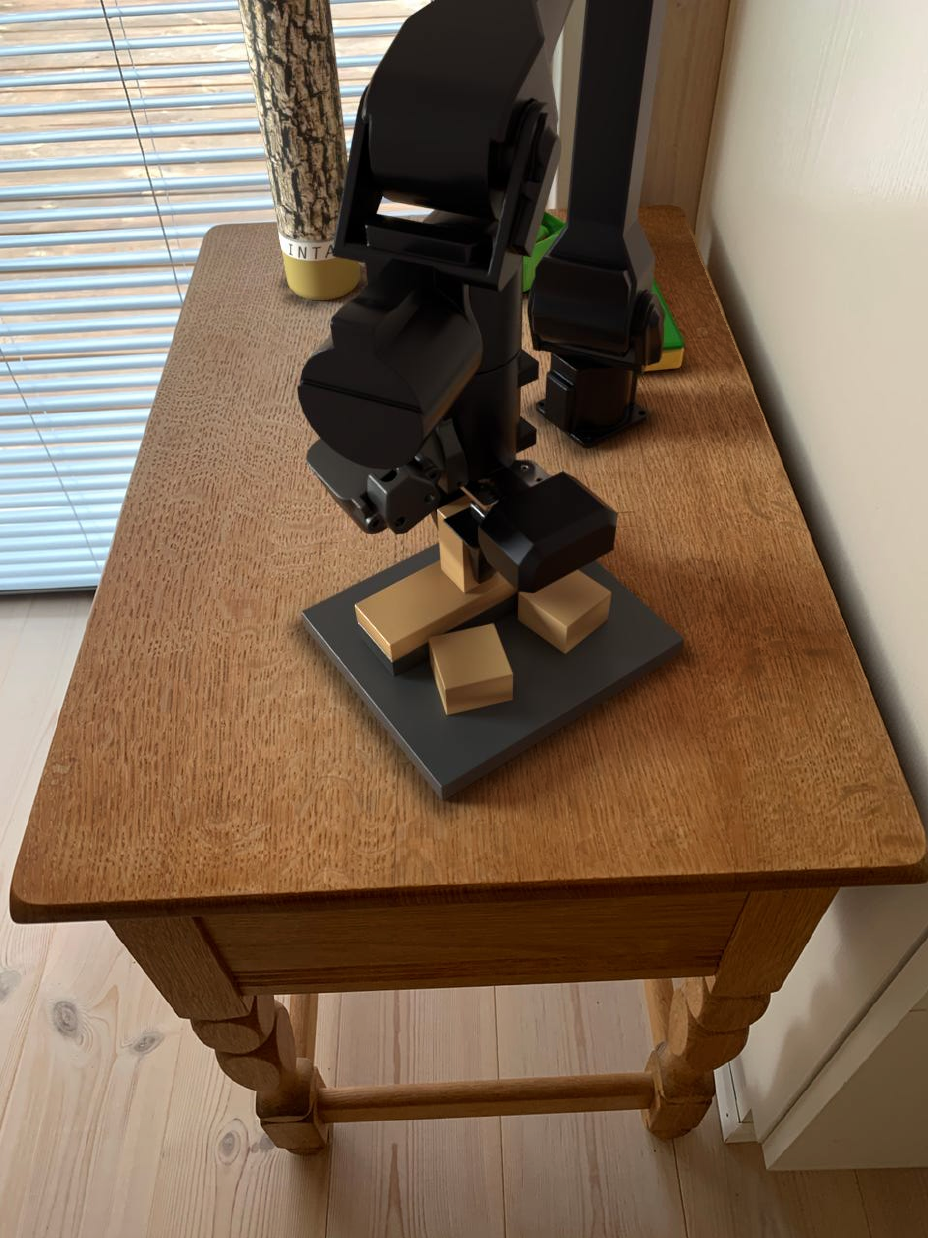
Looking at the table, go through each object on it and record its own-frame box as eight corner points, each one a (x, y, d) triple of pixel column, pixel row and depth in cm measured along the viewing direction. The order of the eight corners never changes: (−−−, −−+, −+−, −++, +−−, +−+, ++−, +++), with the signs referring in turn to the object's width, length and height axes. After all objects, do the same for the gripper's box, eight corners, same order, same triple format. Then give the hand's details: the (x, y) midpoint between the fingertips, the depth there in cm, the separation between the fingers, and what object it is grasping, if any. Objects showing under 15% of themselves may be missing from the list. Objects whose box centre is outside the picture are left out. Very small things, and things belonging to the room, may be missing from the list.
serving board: (525, 513, 70) (526, 497, 69) (681, 654, 61) (685, 638, 60) (303, 626, 64) (300, 611, 63) (442, 802, 55) (441, 787, 54)
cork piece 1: (494, 649, 60) (493, 622, 58) (513, 700, 57) (513, 673, 56) (430, 663, 59) (428, 637, 58) (446, 716, 57) (444, 689, 55)
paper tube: (282, 272, 93) (227, -34, 74) (352, 259, 94) (316, -45, 75) (295, 309, 89) (241, -6, 70) (369, 295, 90) (335, -18, 71)
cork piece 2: (560, 586, 63) (562, 559, 61) (608, 619, 61) (611, 591, 59) (517, 619, 62) (517, 592, 60) (565, 654, 60) (567, 627, 58)
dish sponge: (597, 377, 81) (599, 351, 79) (565, 288, 90) (566, 263, 88) (682, 369, 81) (686, 343, 79) (641, 281, 90) (644, 257, 88)
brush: (538, 540, 66) (541, 446, 60) (576, 575, 64) (584, 481, 58) (359, 636, 61) (343, 544, 55) (394, 677, 59) (382, 586, 53)
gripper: (228, 312, 50) (280, 534, 62) (430, 514, 40) (446, 734, 52) (412, 245, 54) (428, 465, 66) (639, 413, 44) (609, 638, 56)
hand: (470, 566), depth 60 cm, fingers closed on brush, 2 cm apart
